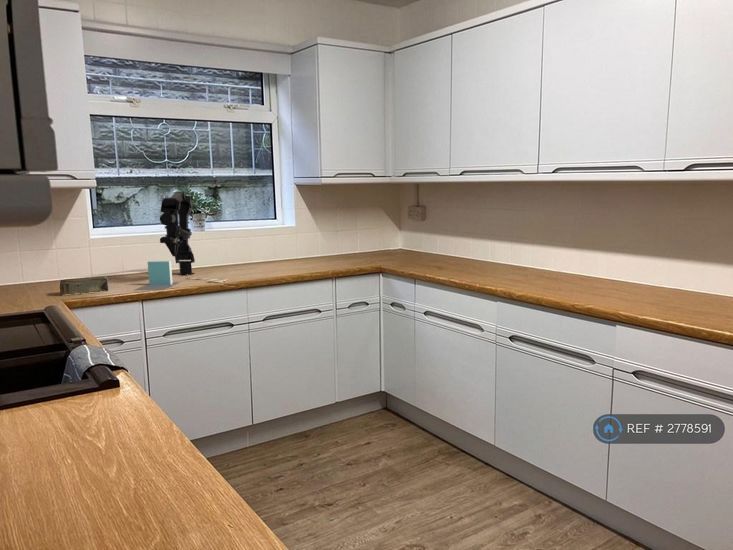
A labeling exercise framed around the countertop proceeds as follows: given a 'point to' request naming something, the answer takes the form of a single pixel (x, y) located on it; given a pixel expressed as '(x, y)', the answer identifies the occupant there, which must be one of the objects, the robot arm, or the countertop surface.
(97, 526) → the countertop surface
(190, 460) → the countertop surface
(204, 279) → the turner
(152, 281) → the tile
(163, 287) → the mat
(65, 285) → the beverage carton
